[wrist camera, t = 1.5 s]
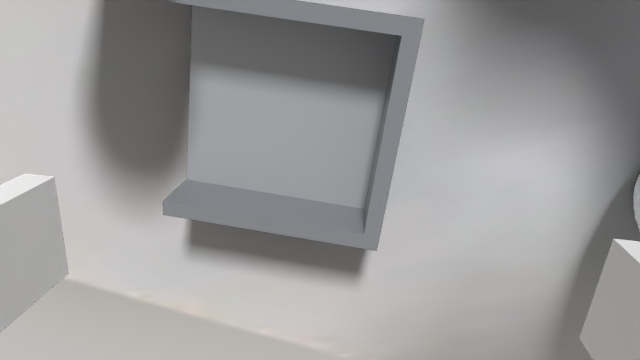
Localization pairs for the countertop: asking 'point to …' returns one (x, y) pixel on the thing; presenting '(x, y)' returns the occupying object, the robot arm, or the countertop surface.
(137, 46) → the countertop surface
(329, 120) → the dock
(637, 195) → the mug
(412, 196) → the countertop surface
